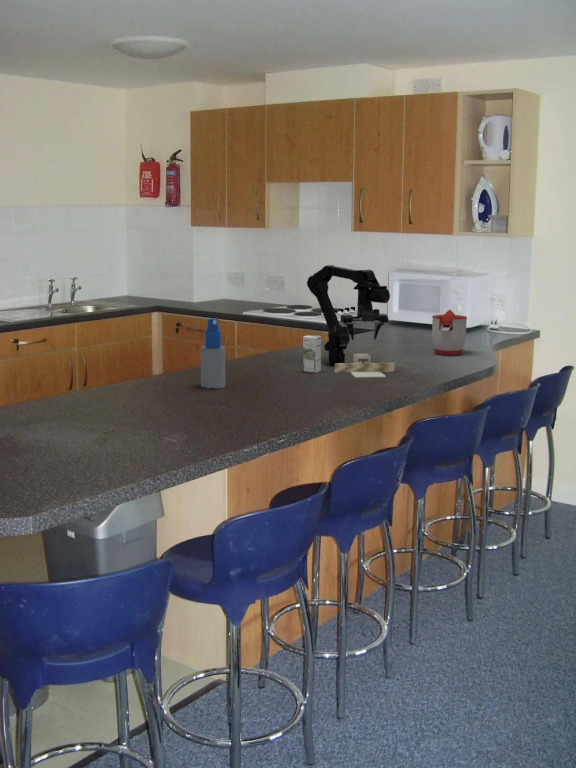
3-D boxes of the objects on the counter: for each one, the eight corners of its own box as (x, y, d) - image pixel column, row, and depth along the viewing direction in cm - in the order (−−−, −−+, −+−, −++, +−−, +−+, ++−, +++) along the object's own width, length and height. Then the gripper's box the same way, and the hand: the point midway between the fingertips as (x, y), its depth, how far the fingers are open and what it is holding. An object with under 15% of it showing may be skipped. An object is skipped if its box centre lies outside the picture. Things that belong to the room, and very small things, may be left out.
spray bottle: (229, 387, 320) (228, 319, 315) (206, 389, 316) (205, 320, 311) (219, 382, 328) (219, 316, 323) (197, 385, 324) (196, 317, 319)
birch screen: (335, 372, 349) (335, 364, 348) (334, 372, 350) (334, 363, 350) (394, 371, 352) (394, 363, 351) (393, 371, 353) (393, 362, 352)
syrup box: (321, 370, 353) (321, 335, 350) (315, 373, 347) (315, 337, 345) (308, 369, 355) (308, 334, 352) (302, 372, 350) (302, 336, 347)
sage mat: (355, 377, 339) (355, 376, 339) (350, 373, 348) (350, 372, 348) (385, 377, 340) (385, 376, 340) (380, 372, 350) (380, 371, 350)
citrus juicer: (426, 355, 390) (427, 311, 386) (434, 350, 406) (436, 307, 402) (461, 358, 385) (463, 312, 381) (468, 352, 400) (470, 308, 396)
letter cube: (355, 370, 354) (356, 356, 353) (352, 368, 360) (353, 353, 359) (370, 370, 355) (370, 356, 353) (367, 367, 361) (367, 353, 359)
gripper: (346, 303, 343) (345, 343, 346) (392, 303, 346) (391, 342, 349) (340, 300, 354) (339, 338, 357) (385, 300, 357) (384, 338, 360)
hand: (363, 339), depth 356 cm, fingers open, 9 cm apart
